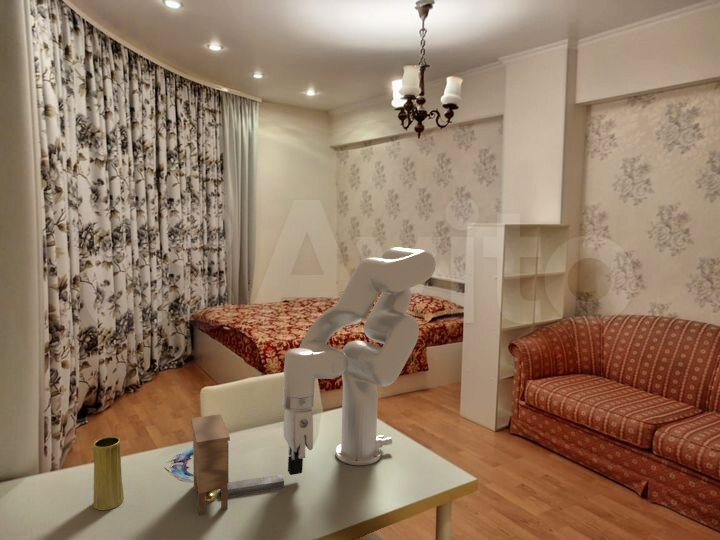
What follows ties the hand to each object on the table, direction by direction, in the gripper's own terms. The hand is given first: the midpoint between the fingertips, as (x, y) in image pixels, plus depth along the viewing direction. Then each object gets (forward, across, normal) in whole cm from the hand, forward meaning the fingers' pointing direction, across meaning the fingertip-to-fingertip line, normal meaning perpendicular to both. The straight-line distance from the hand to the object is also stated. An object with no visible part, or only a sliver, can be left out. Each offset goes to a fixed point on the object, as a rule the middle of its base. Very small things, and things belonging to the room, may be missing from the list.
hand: (294, 472), depth 119 cm
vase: (+4, +6, +41) cm, 42 cm away
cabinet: (+3, 0, +20) cm, 20 cm away
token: (+3, 0, +20) cm, 21 cm away
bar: (+3, 0, +10) cm, 11 cm away
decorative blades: (+3, +18, +24) cm, 30 cm away
